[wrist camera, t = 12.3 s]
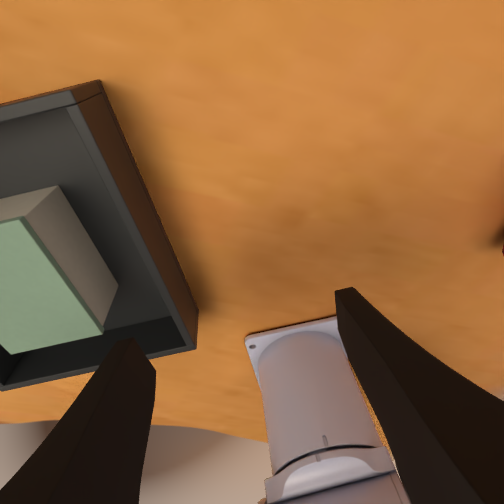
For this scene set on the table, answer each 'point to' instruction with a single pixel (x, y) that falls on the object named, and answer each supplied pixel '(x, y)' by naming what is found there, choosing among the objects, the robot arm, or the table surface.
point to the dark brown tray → (96, 228)
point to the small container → (49, 274)
